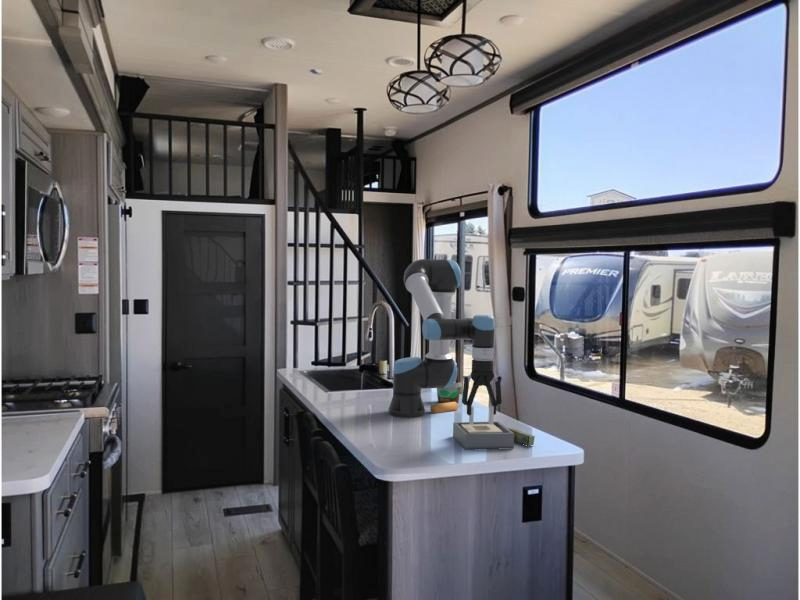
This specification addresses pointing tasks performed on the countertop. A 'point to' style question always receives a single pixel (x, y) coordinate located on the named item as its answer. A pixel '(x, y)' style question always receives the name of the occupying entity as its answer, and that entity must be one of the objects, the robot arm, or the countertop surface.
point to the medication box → (522, 437)
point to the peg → (443, 407)
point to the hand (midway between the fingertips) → (481, 423)
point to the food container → (449, 393)
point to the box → (483, 435)
